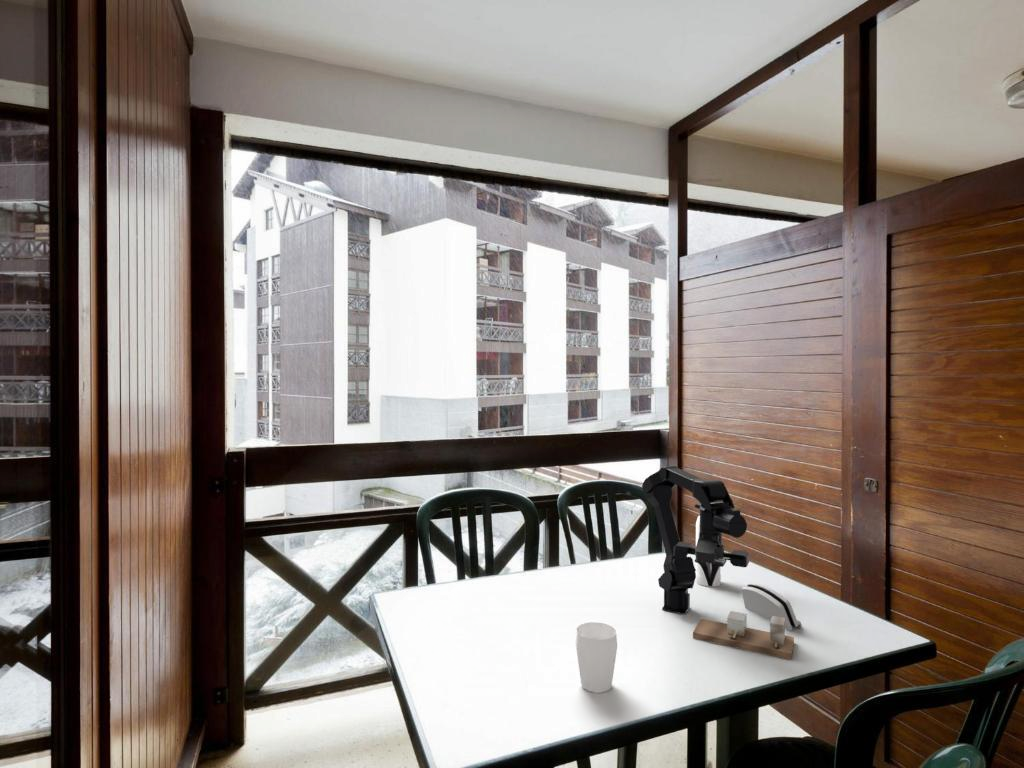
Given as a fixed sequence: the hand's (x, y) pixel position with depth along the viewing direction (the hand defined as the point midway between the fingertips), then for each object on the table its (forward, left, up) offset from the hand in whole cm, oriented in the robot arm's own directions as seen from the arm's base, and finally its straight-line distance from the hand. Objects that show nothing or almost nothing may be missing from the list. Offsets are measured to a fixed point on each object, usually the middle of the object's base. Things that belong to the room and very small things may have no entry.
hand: (710, 585), depth 152 cm
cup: (-16, -41, -12) cm, 46 cm away
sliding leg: (+7, -3, -10) cm, 13 cm away
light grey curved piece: (+13, +16, -12) cm, 24 cm away
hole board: (+9, -2, -12) cm, 15 cm away
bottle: (-7, +37, -12) cm, 39 cm away
